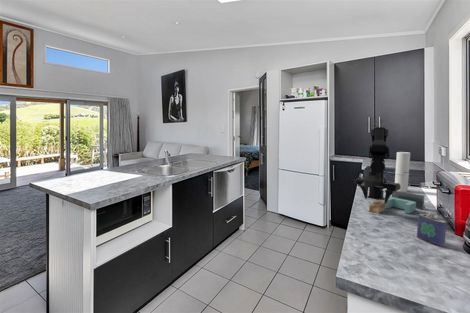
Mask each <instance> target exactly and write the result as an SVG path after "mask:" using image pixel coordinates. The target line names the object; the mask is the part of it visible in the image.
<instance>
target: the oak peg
mask: <svg viewBox="0 0 470 313" xmlns="http://www.w3.org/2000/svg"><path fill="white" fill-rule="evenodd" d="M385 210H386V208H385V202H384V201H383V200H380V199H379V200H378V199H375V201H373V202H370V203H369V211H368V212H369V213H373V214H374V213H375V214H380V213H381V212H383V211H385Z"/></svg>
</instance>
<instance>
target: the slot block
mask: <svg viewBox="0 0 470 313" xmlns="http://www.w3.org/2000/svg"><path fill="white" fill-rule="evenodd" d="M383 200H384V202H385V198H383ZM390 208H395V209H396V208H397V209H401V210H404V213H406V214H411V213H414V212H415V211H416V210H417V209H416V202H414V201H409V200H404V199H399V198H394V197H392V196H390V198H389V200H388V201H387V203H385V209H390Z"/></svg>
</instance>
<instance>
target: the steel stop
mask: <svg viewBox="0 0 470 313" xmlns="http://www.w3.org/2000/svg"><path fill="white" fill-rule="evenodd" d="M391 197H394V198H399V199H404V200H409V201H414V202H416V210H420V211H422V210H425V209H426V206H425V195H423V194H418V193H411V192H408V191H407V192H402V191H394V192H393V193H392V195H391Z"/></svg>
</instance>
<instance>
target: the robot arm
mask: <svg viewBox="0 0 470 313" xmlns="http://www.w3.org/2000/svg"><path fill="white" fill-rule="evenodd" d="M388 138H389V129H387V128H386V127H384V126H383V127H382V126H378V127H377V126H376V127H374V128H373V129H371V130H370V139H371V145H369V150H368V151H369V152H368V159H371V160H370V171H369V172H368V175H367V176H366V177H358V178H357V177H356V179H355V180H354V184H355V185H357V187H359V188H360V189H361V191H362V194H363V197H364V199H365V200H367V199H368V198H369V199H375V200H379V201H380V200H381V199H385V203H387V201H388V200H389V198H390V197H392V193H393V192H394V191H397V190H400V184H399V183H395V182H391V181H390V182H387V179H386V178H385V174H386V171H385V170H386V169H385V168H386V163H385V161H386V160H388V158H390V148H389V146H387V139H388ZM384 193H385V194H384ZM384 195H385V196H384Z"/></svg>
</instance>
